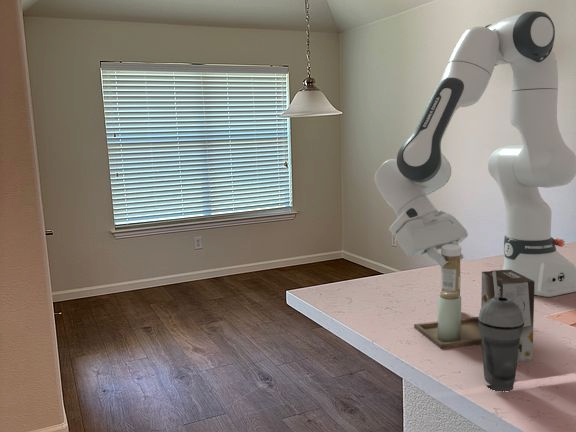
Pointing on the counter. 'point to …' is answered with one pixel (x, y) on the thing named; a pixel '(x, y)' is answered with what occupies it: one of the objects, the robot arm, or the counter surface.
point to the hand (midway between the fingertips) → (452, 262)
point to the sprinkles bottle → (451, 268)
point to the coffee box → (520, 294)
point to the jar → (449, 316)
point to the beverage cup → (500, 340)
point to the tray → (468, 337)
